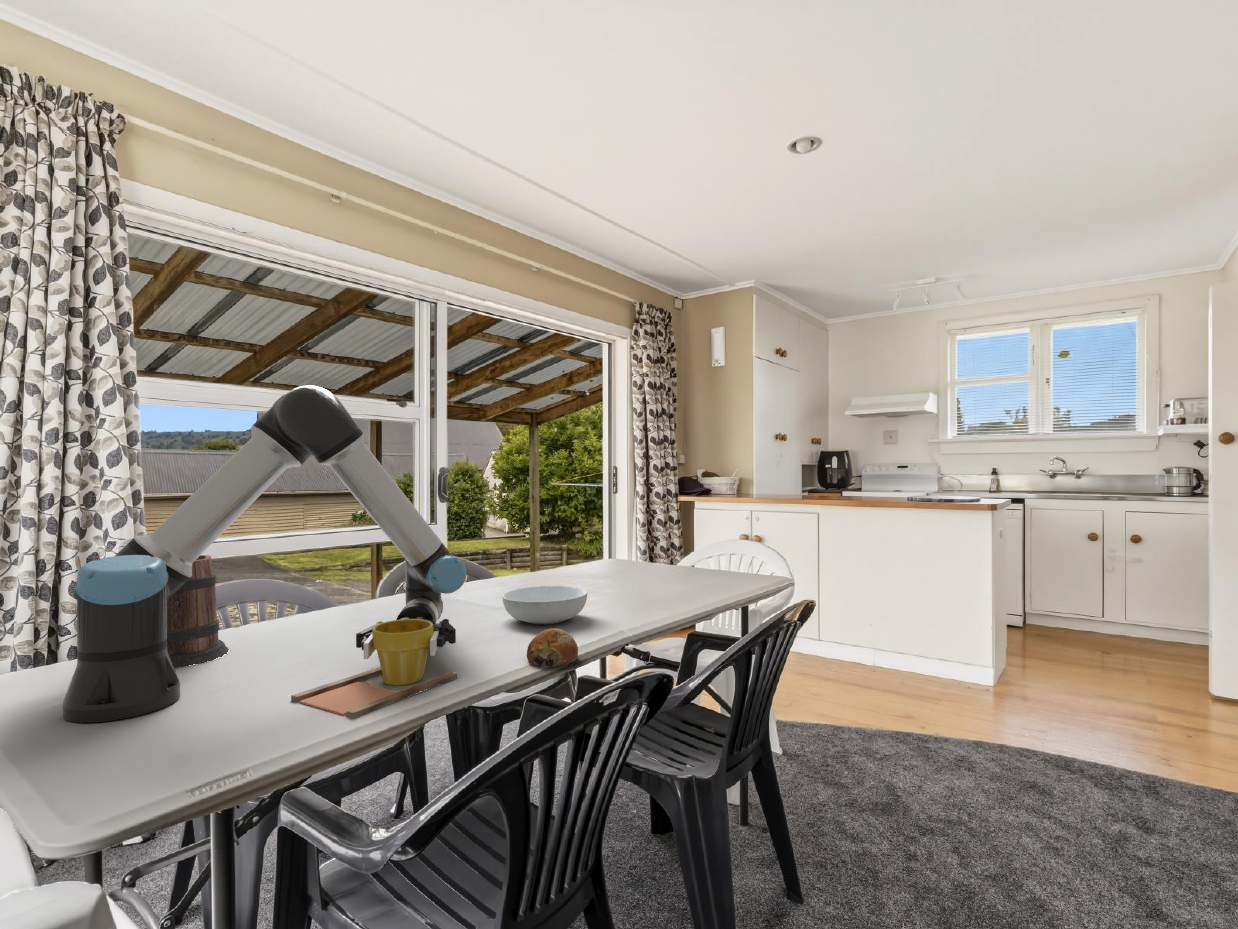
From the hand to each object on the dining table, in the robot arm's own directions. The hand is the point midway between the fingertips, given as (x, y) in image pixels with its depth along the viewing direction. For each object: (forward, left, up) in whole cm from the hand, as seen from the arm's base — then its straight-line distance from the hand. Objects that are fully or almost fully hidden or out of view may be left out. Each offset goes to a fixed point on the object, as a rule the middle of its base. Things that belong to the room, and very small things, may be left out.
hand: (399, 649), depth 116 cm
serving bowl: (+53, +9, -7) cm, 54 cm away
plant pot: (+3, +3, -7) cm, 8 cm away
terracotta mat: (-8, +3, -6) cm, 11 cm away
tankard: (-8, +57, -7) cm, 58 cm away
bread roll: (+26, -13, -7) cm, 30 cm away
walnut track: (-2, +3, -6) cm, 7 cm away
